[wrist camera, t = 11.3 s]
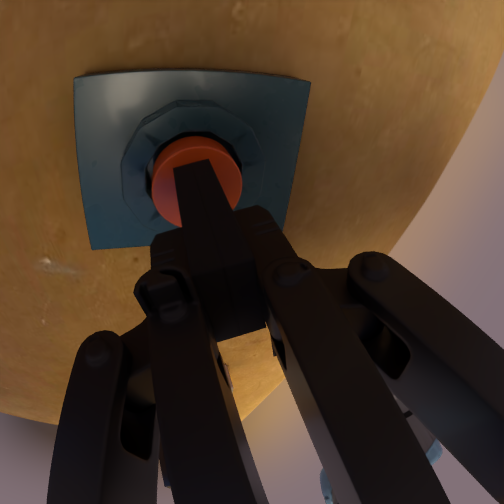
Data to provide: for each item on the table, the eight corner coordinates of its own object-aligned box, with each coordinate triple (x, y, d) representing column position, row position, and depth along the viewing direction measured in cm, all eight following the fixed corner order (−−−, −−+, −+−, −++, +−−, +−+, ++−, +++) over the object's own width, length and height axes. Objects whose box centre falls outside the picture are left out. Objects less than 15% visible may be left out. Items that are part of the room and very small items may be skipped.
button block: (295, 77, 16) (328, 86, 13) (270, 220, 22) (292, 254, 19) (83, 74, 12) (62, 81, 9) (96, 230, 18) (87, 269, 15)
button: (238, 135, 14) (247, 146, 12) (230, 209, 16) (238, 227, 15) (151, 136, 13) (150, 147, 11) (153, 213, 15) (153, 232, 14)
